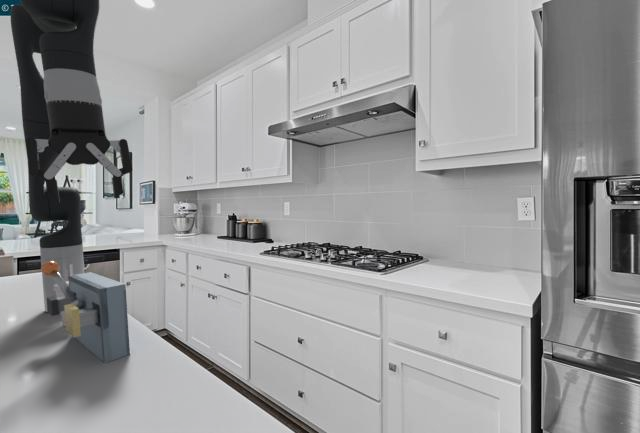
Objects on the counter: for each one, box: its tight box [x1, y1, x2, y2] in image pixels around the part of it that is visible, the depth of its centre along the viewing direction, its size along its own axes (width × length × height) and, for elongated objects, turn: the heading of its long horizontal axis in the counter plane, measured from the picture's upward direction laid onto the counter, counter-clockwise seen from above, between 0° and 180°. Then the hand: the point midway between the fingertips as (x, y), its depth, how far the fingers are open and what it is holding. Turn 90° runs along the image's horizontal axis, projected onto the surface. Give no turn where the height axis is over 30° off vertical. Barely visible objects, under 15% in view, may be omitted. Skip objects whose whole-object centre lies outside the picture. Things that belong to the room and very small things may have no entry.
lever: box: [40, 261, 84, 310], centre depth 61 cm, size 3×3×10 cm
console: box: [68, 271, 131, 364], centre depth 65 cm, size 20×5×13 cm, turn 50°
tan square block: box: [64, 304, 99, 339], centre depth 57 cm, size 5×4×5 cm
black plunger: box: [47, 296, 70, 317], centre depth 66 cm, size 4×4×3 cm
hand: (88, 200), depth 57 cm, fingers open, 8 cm apart
